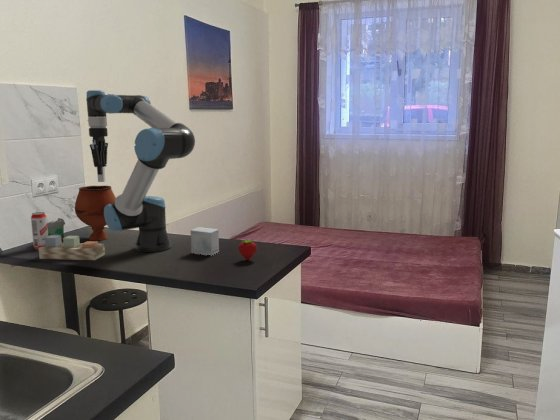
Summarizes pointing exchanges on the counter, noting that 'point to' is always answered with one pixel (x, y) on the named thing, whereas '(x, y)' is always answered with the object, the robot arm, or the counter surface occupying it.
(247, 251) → the strawberry
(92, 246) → the terracotta button
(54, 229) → the food container
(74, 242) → the sage-green button
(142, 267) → the counter surface
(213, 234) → the skincare box
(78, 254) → the button panel
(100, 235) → the goblet
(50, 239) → the light blue block
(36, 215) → the beer can
